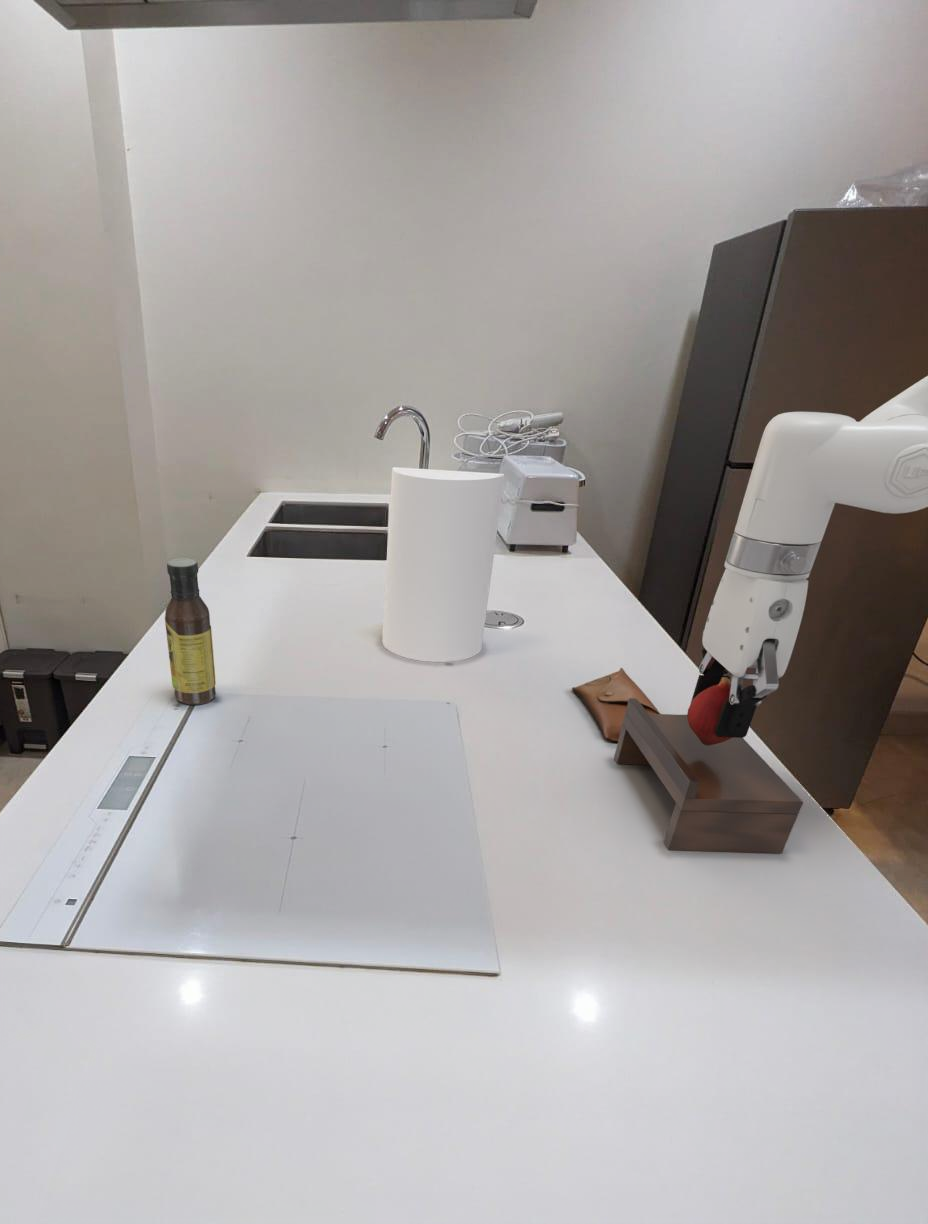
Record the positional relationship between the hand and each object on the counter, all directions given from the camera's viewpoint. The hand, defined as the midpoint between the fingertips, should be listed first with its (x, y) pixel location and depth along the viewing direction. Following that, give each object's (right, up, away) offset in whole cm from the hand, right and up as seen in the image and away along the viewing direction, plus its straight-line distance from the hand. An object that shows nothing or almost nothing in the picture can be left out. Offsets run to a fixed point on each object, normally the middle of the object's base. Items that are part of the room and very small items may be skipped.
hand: (716, 720), depth 82 cm
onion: (0, -3, +2) cm, 3 cm away
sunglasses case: (-2, +3, +25) cm, 25 cm away
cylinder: (-25, +18, +48) cm, 57 cm away
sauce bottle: (-62, +6, +28) cm, 69 cm away
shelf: (0, -9, +6) cm, 11 cm away
